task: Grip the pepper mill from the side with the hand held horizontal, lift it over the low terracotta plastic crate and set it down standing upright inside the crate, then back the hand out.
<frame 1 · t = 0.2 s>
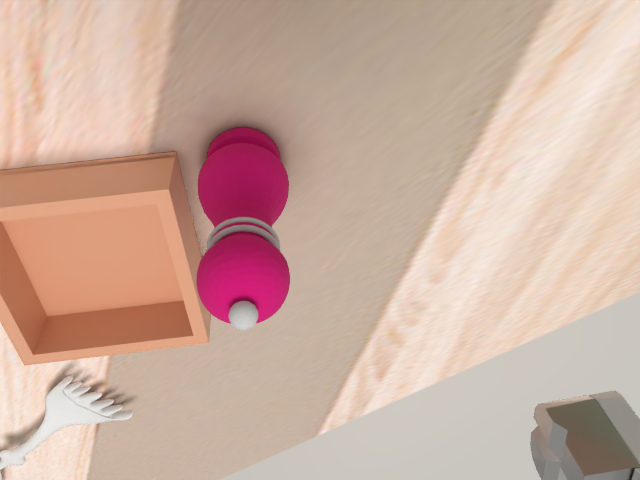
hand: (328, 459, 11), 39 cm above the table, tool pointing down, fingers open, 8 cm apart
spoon: (17, 436, 71), on the table
crate: (103, 242, 55), on the table
pepper mill: (243, 158, 51), on the table
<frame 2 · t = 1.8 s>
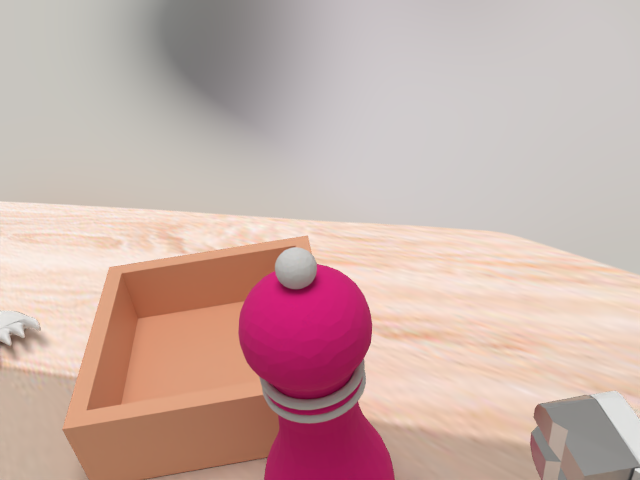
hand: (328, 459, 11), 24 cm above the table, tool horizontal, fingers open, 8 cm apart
crate: (222, 373, 47), on the table
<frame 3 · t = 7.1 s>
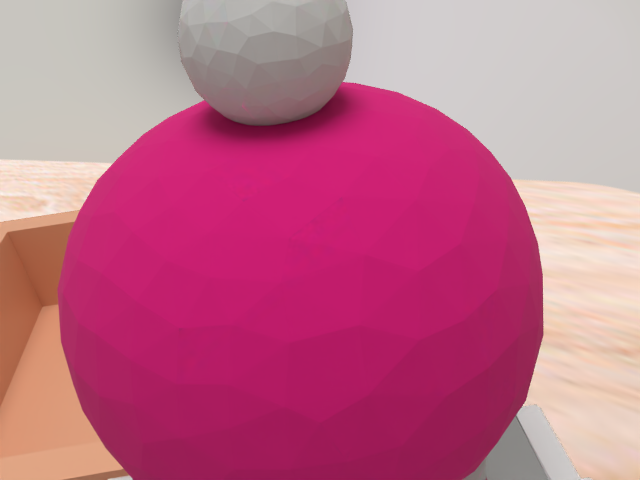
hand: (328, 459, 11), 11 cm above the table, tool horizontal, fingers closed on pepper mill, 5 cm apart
crate: (165, 396, 28), on the table
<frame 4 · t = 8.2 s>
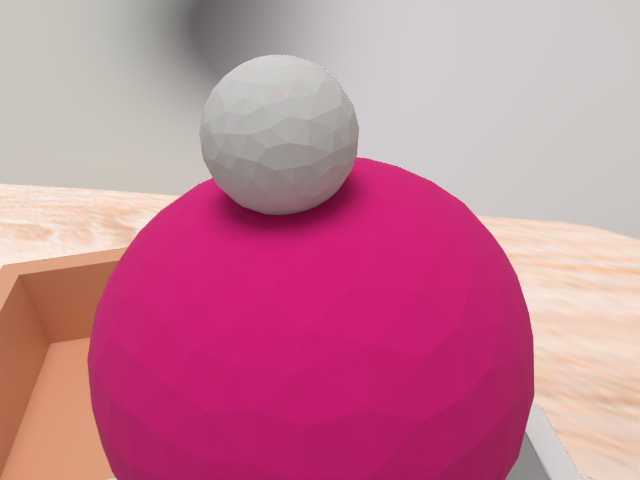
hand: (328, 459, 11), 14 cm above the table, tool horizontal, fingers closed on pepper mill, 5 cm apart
crate: (169, 436, 29), on the table
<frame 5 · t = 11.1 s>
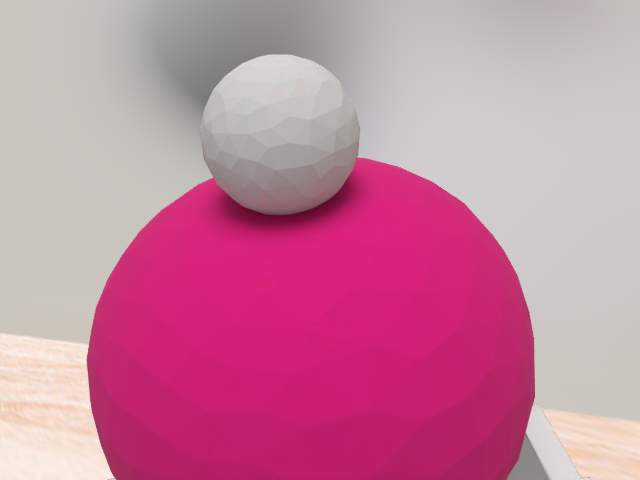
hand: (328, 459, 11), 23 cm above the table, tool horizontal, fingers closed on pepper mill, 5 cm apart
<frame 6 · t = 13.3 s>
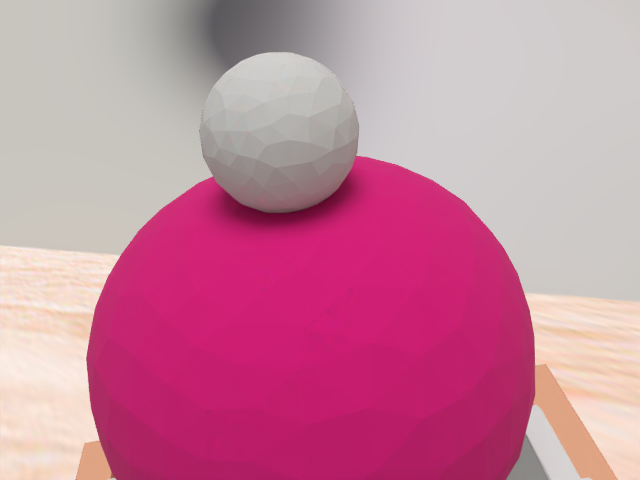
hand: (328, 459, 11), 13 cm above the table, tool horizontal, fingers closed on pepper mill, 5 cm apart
when the fingers open (13 cm above the table, at t = 14.0 s): pepper mill stays where it is, resting on crate.
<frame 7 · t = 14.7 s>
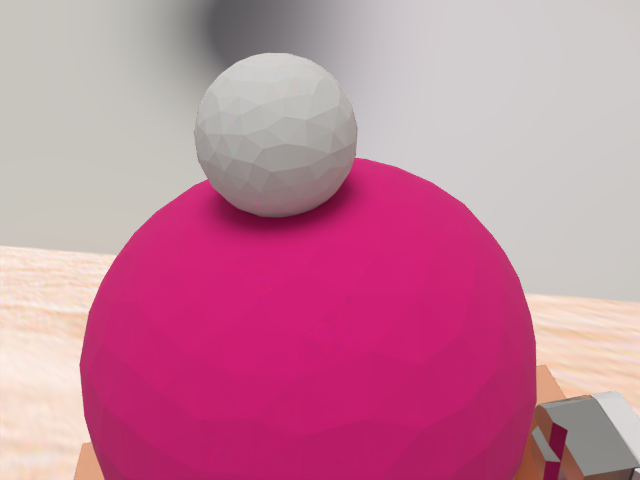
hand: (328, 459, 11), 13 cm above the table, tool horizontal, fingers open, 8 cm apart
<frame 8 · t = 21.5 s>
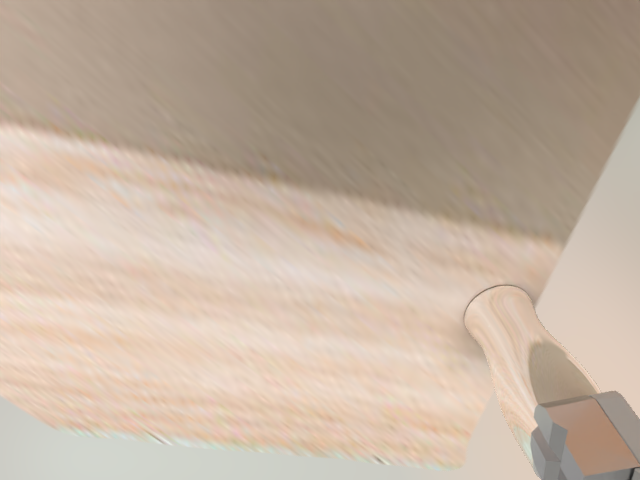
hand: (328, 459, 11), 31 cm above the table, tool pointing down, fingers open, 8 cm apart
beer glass: (496, 310, 53), on the table
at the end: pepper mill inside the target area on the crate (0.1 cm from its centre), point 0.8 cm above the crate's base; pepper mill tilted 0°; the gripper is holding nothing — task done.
